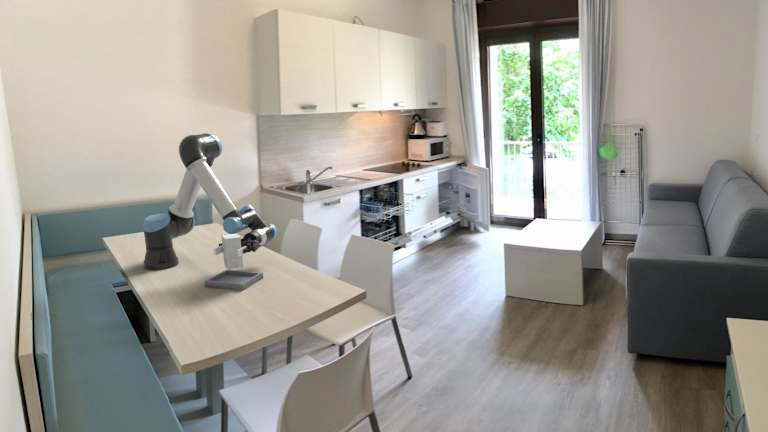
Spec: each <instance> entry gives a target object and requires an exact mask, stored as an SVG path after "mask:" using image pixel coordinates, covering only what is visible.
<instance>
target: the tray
mask: <svg viewBox="0 0 768 432" xmlns="http://www.w3.org/2000/svg"><path fill="white" fill-rule="evenodd" d="M263 279H264V272H261V271H249V270H248V271H247V270H235V269H230V270H228V269H225V270H223V271H221V272H219V273H217V274H214V275H213V276H211V277H209V278H207V279H205V280H204V288H205V287H206V288H213V289H224V290H225V289H226V290H236V291H245V290H247V289H248V288H250V287H251V286H254V284H256V283H258V282H259V281H261V280H263Z"/></svg>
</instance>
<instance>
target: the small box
mask: <svg viewBox="0 0 768 432" xmlns="http://www.w3.org/2000/svg"><path fill="white" fill-rule="evenodd" d="M241 239H242V238H241V236H240V235H239V234H238V233H235V234H229V233H227V234H223V235H221V241H222V244H223V252H222V254H223V263H224V266H225V267H226V270H235V269H241V268H244V263H243V262H244V261H243V255H241V256H239V257H237V250H238V249H240V248H241Z"/></svg>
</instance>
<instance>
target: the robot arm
mask: <svg viewBox="0 0 768 432" xmlns="http://www.w3.org/2000/svg"><path fill="white" fill-rule="evenodd" d="M222 152H223V144H222V142H221V140H220V138H219V137H218V136H217V135H215V134H213V133H208V132H206V133H205V132H204V133H201V134H190V135H187V136H185V137H183V138H182V139H181V141H180V142H179V145H178V154H179V158H180V160H181V162H182V164H183V166H184V167H185V169H186V170H185V173H184V175H183V177H182V180H181V181H182V182H181V184H180V186H179V189H178V192H177V195H176V198H175V200H174V203H173V204H172V205H170V206H169V208H168V210H167V212H166V213H156V214H151V215H149V216H146V217H145V218H144V219H143V226H142V228H143V229H142V230H143V234H144V244H145V256H144V259H143V267H145V268H144V269H146V268H147V269H146V270H151V269H153V270H156V271H157V270H164V269H169V268H173V267H175V266H178V265H179V257H178V256H177V253H176V251H175V248H174V245H173V239H177V238H179V237H183V236H185V235H187V234H189V233H190V232H192V231H193V230H194V228H195V224H196V220H195V219H194V218H195V217H194V216H195V213H194V211H193V208H194V206H195V203H196V201H197V197H198V195H199V192H200V189H201V188H202V190H203V192H204V193H205V194H206V196H207V197H208V199H209V200H210V202H211V203H212V204H213V206H214V208H215V209H216V211H217V213H218V214H219V215H220V217H221V218H222V220H223V222H222V227H223V231H224V232H226V233H227V234H238V233H240V232H242V231H244V230H248V229H250V231H249V232H247V233H246V234H244V236H243V237H242V238H241V248H240V249H238V250H237V257H239V256H241V255H242V256H243V255H245V254H247V253H251V252H252V253H256V252H257V250H258V249H259V248H261V247H263V245H265V244H267V243H268V242H271V241H273V240H274V239H276V238H277V235H278V228H277V226H275V225H274V224H272V223H268V222H267V221H266V220H265V219H264V218H263V216H262V215H261V214H260V213H259V212H258V211H257V210H256V208H254V207H253V205H251V204H247V205H244V206H243V207H241V208H240V209H239V210H238V208H237V207H236V205H235V204H234V203H233V200H232V199H231V198H230V196H229V195H228V193H227V191H226V190H225V189H224V187H223V185H222V184H221V182H220V181H219V179H218V178H217V177H216V175H215V173H214V172H213V171H212V168H211V167H212V166H213V164H214V162H215V161H214V160H215V159H217V158H218V157H220V156H221V154H222ZM213 252H214V256H218V255H220V254H223V244H222V243H218V246H217V247H215V248H213ZM153 270H152V271H153Z"/></svg>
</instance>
